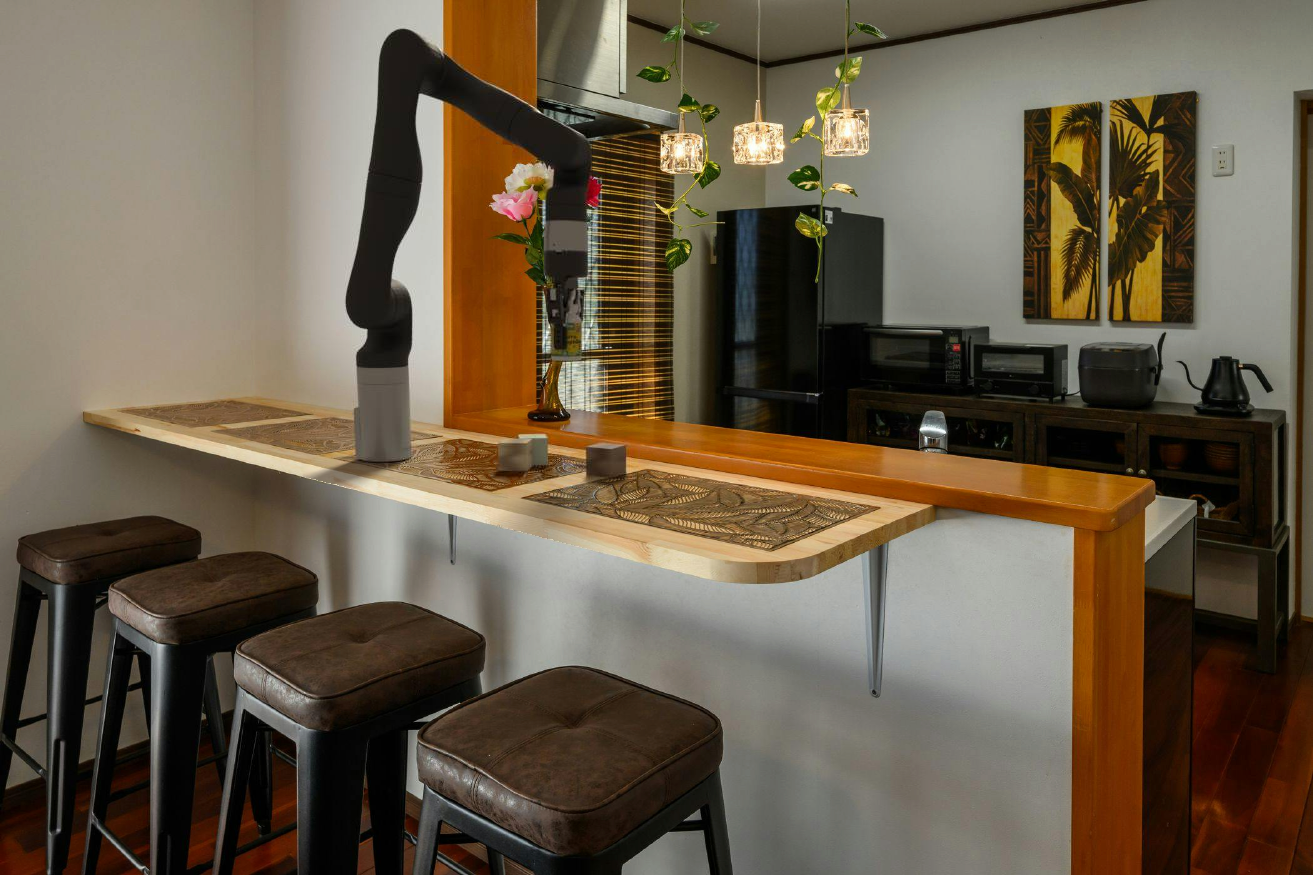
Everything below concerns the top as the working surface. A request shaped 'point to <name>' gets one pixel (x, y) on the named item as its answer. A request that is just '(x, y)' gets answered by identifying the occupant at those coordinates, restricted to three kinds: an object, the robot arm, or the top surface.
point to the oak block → (515, 454)
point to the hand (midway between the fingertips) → (566, 348)
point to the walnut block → (606, 460)
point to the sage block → (538, 448)
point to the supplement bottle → (570, 339)
